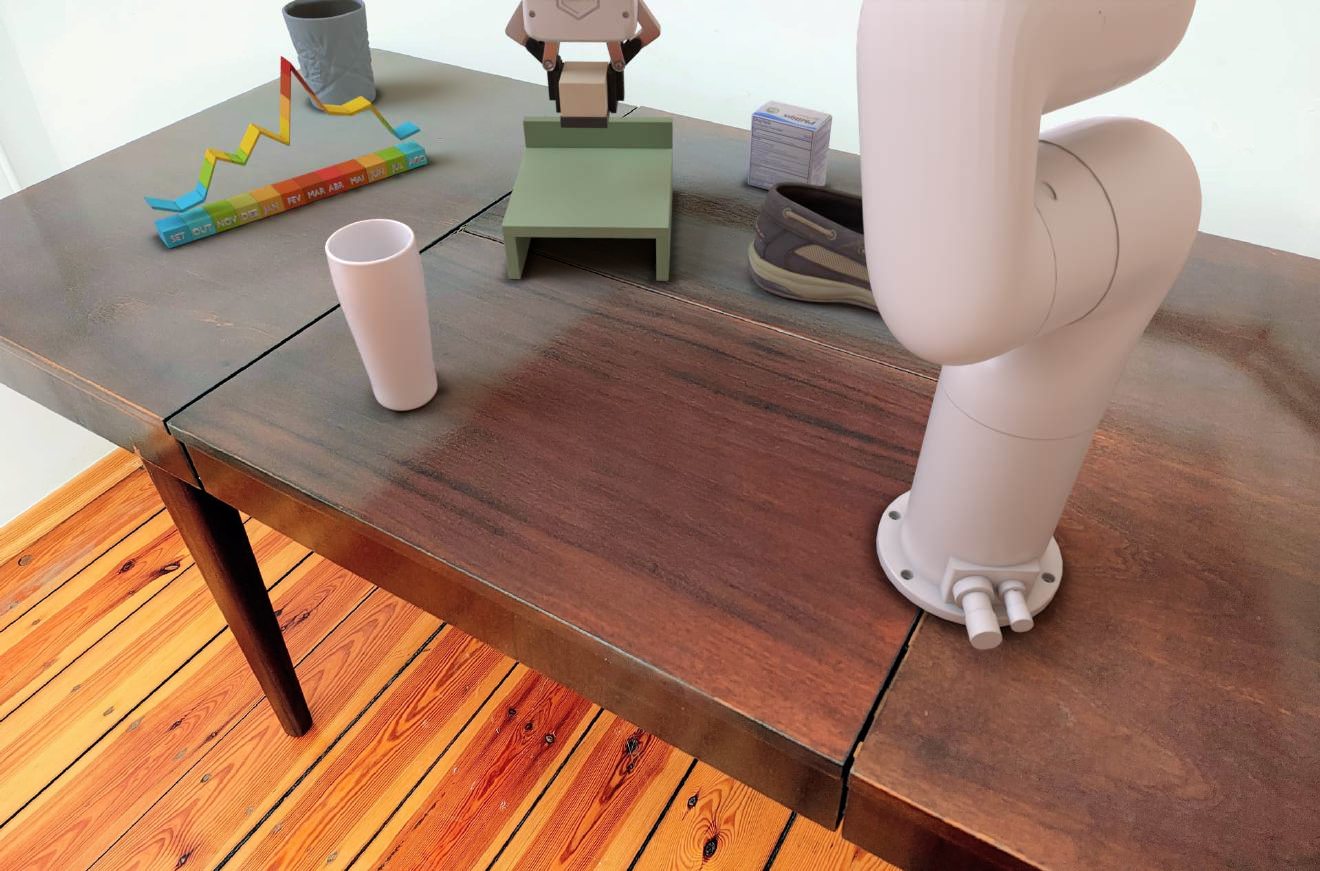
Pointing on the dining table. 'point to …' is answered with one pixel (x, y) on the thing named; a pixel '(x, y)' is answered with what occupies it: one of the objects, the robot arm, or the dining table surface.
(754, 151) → the medicine box
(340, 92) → the gray embossed pot
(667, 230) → the shelf
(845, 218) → the boat shoe
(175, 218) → the chart
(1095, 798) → the dining table surface
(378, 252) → the drinking glass
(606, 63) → the tan two-tone block
